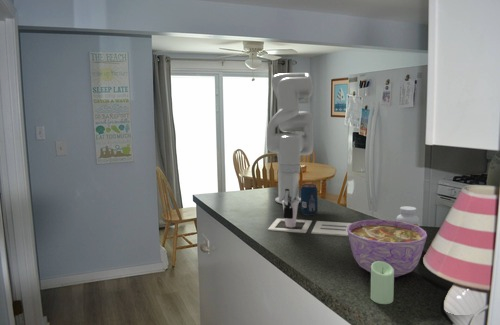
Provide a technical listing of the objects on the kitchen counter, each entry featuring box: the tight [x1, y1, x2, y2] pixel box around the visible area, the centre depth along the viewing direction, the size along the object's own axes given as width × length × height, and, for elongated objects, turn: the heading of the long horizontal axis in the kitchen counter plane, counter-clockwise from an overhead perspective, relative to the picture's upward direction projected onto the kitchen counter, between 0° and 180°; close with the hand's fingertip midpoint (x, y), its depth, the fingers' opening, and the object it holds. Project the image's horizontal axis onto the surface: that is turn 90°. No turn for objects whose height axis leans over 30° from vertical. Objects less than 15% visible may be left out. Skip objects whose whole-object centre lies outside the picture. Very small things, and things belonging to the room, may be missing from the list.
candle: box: [370, 261, 395, 305], centre depth 89 cm, size 5×5×8 cm
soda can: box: [300, 183, 319, 216], centre depth 162 cm, size 7×7×12 cm
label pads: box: [267, 218, 353, 237], centre depth 144 cm, size 14×30×1 cm, turn 72°
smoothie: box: [282, 199, 299, 228], centre depth 145 cm, size 6×6×14 cm
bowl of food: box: [347, 219, 428, 279], centre depth 103 cm, size 20×20×12 cm
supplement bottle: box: [395, 205, 420, 227], centre depth 120 cm, size 7×7×13 cm
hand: (290, 215), depth 146 cm, fingers closed on smoothie, 6 cm apart
